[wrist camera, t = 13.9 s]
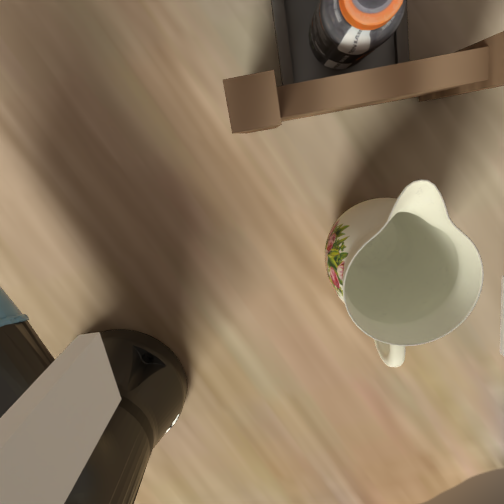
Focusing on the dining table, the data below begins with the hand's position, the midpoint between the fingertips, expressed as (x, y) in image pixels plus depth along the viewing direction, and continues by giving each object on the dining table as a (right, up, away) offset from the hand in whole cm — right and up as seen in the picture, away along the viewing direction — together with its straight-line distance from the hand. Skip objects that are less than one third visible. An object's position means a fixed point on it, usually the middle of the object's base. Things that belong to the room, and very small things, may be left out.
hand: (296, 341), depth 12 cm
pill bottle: (+7, +23, +22) cm, 32 cm away
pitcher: (+11, +4, +29) cm, 31 cm away
